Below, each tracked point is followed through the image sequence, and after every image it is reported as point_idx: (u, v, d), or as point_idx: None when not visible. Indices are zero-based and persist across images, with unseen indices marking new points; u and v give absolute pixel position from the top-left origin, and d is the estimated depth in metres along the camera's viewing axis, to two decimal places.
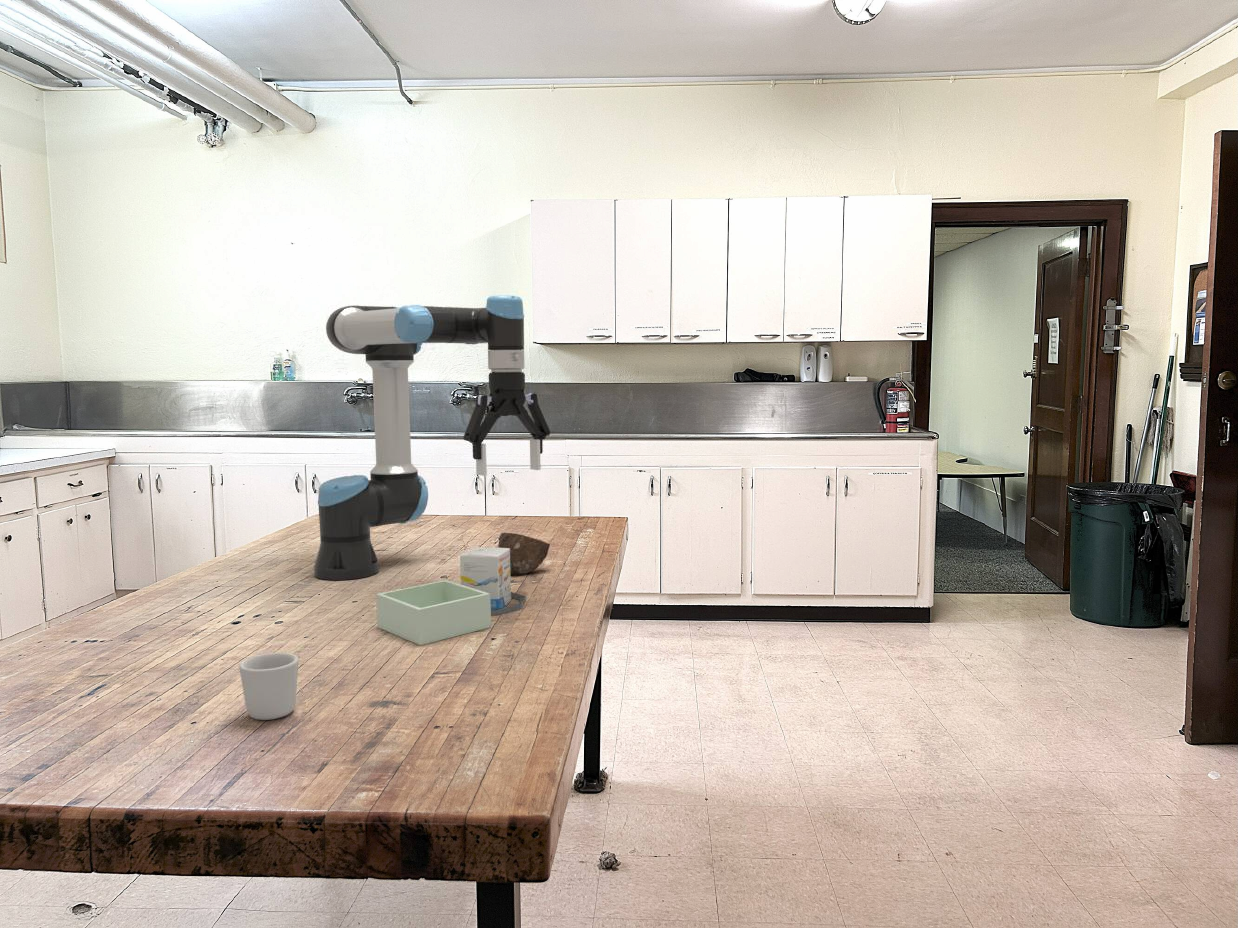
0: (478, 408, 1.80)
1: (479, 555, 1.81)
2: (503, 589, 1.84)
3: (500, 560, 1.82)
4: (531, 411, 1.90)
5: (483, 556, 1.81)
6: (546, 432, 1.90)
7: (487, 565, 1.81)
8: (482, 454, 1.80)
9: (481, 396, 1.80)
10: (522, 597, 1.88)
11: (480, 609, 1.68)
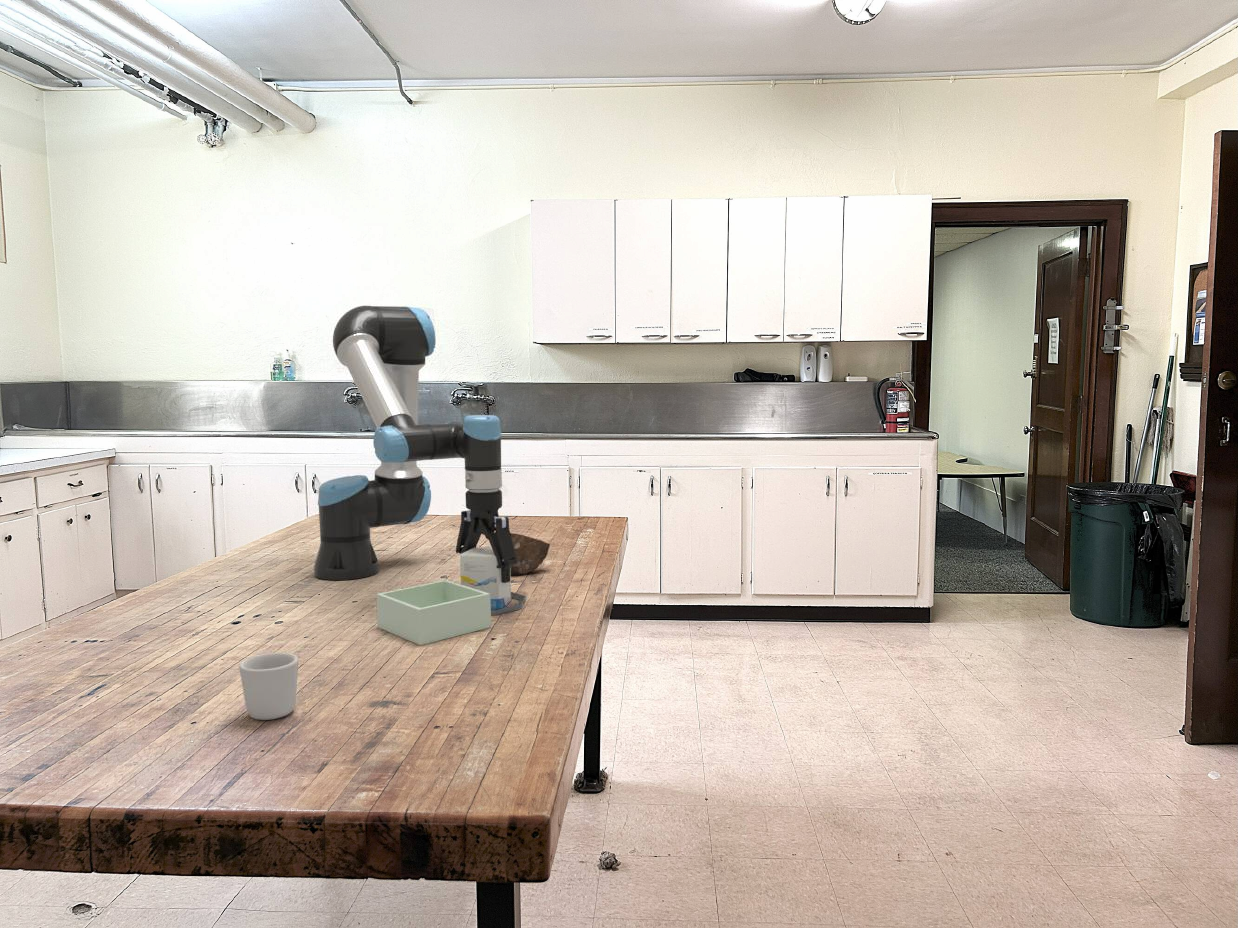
0: None
1: (479, 555, 1.81)
2: None
3: None
4: None
5: (483, 556, 1.81)
6: (504, 562, 1.78)
7: (487, 565, 1.81)
8: None
9: None
10: (522, 597, 1.88)
11: (480, 609, 1.68)
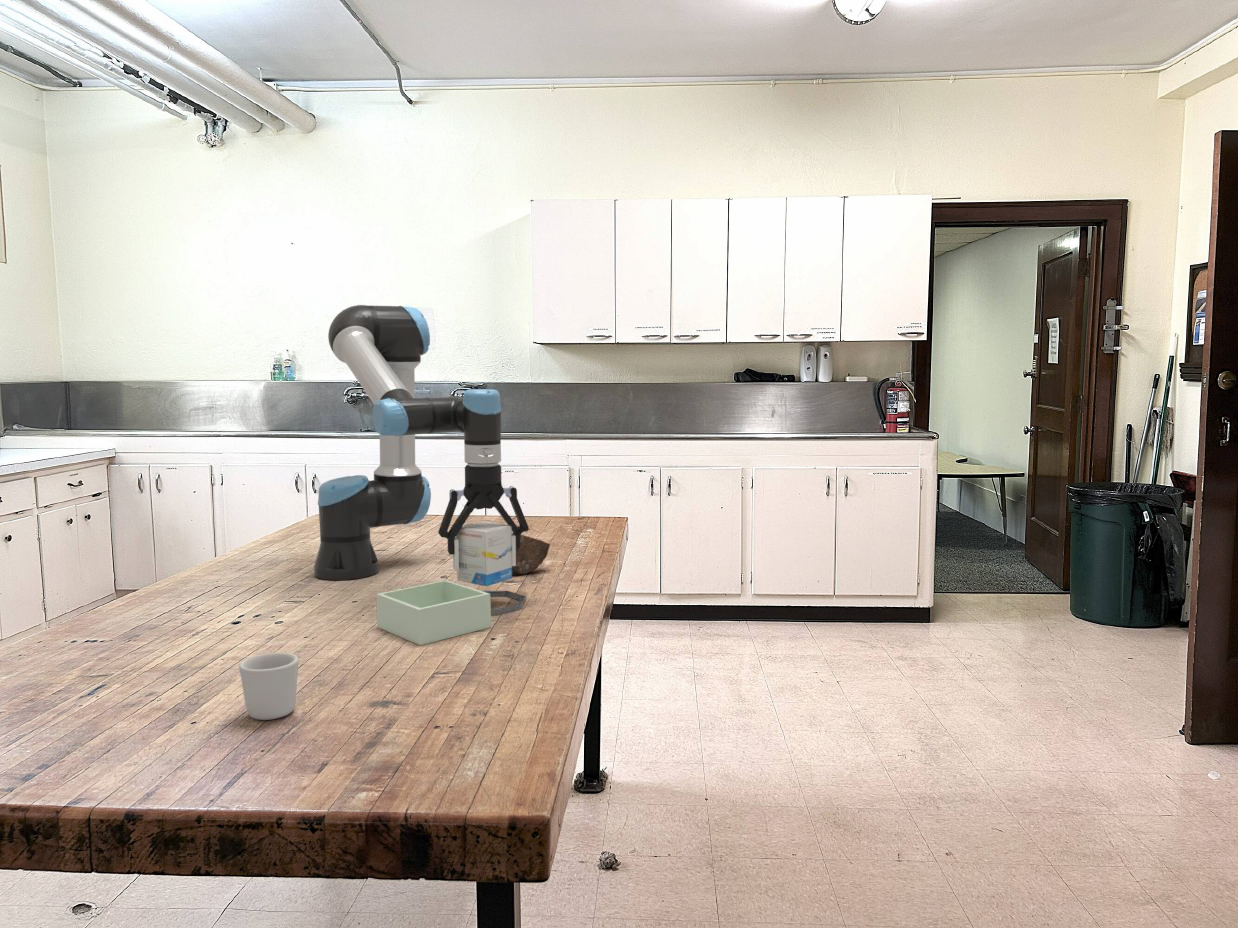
0: (449, 503, 1.81)
1: (498, 528, 1.83)
2: None
3: None
4: (512, 504, 1.87)
5: (501, 528, 1.83)
6: (524, 528, 1.87)
7: (505, 536, 1.84)
8: (455, 549, 1.82)
9: (451, 492, 1.81)
10: (522, 597, 1.88)
11: (480, 609, 1.68)
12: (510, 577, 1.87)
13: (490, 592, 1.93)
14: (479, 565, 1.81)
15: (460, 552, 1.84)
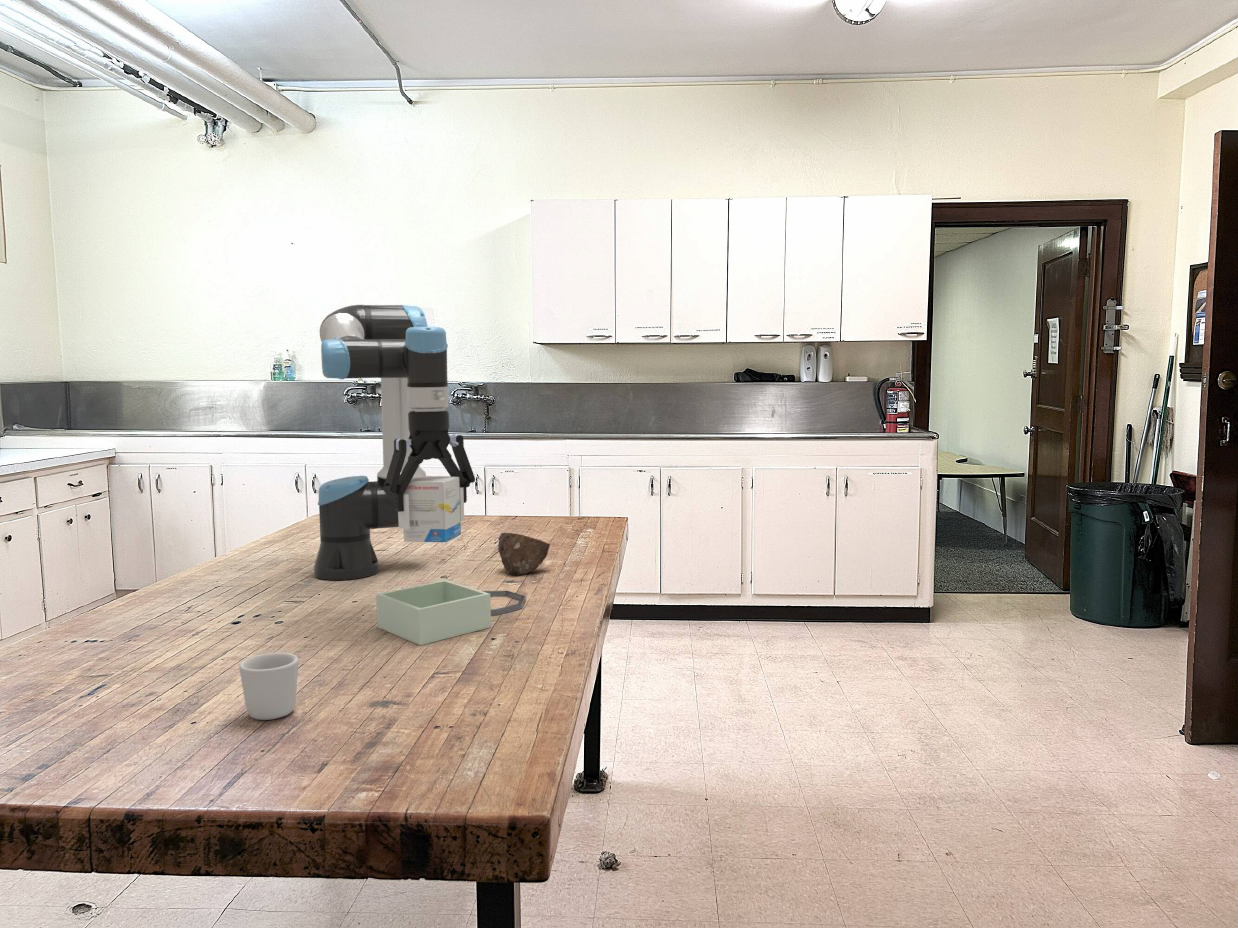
0: (397, 454, 1.62)
1: (450, 479, 1.67)
2: None
3: None
4: (455, 454, 1.72)
5: (453, 479, 1.68)
6: (470, 479, 1.73)
7: (456, 487, 1.69)
8: (404, 506, 1.63)
9: (399, 441, 1.62)
10: (522, 597, 1.88)
11: (480, 609, 1.68)
12: (459, 533, 1.71)
13: (490, 592, 1.93)
14: (435, 520, 1.64)
15: None
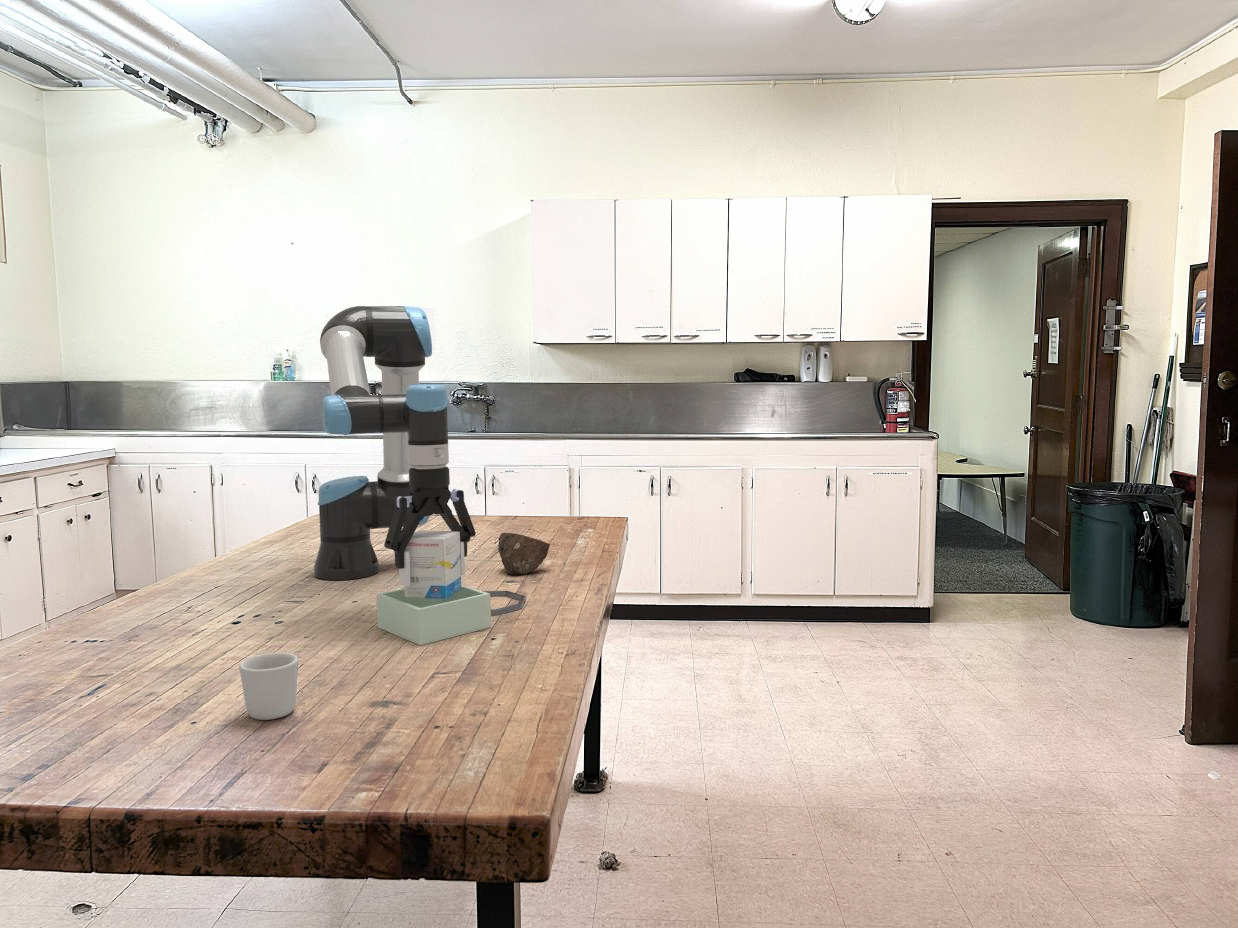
0: (397, 512, 1.63)
1: (450, 534, 1.68)
2: None
3: None
4: (456, 509, 1.73)
5: (453, 534, 1.69)
6: (471, 533, 1.74)
7: (456, 543, 1.70)
8: (405, 563, 1.64)
9: (400, 498, 1.63)
10: (522, 597, 1.88)
11: (480, 609, 1.68)
12: (460, 587, 1.72)
13: (490, 592, 1.93)
14: (435, 577, 1.65)
15: None
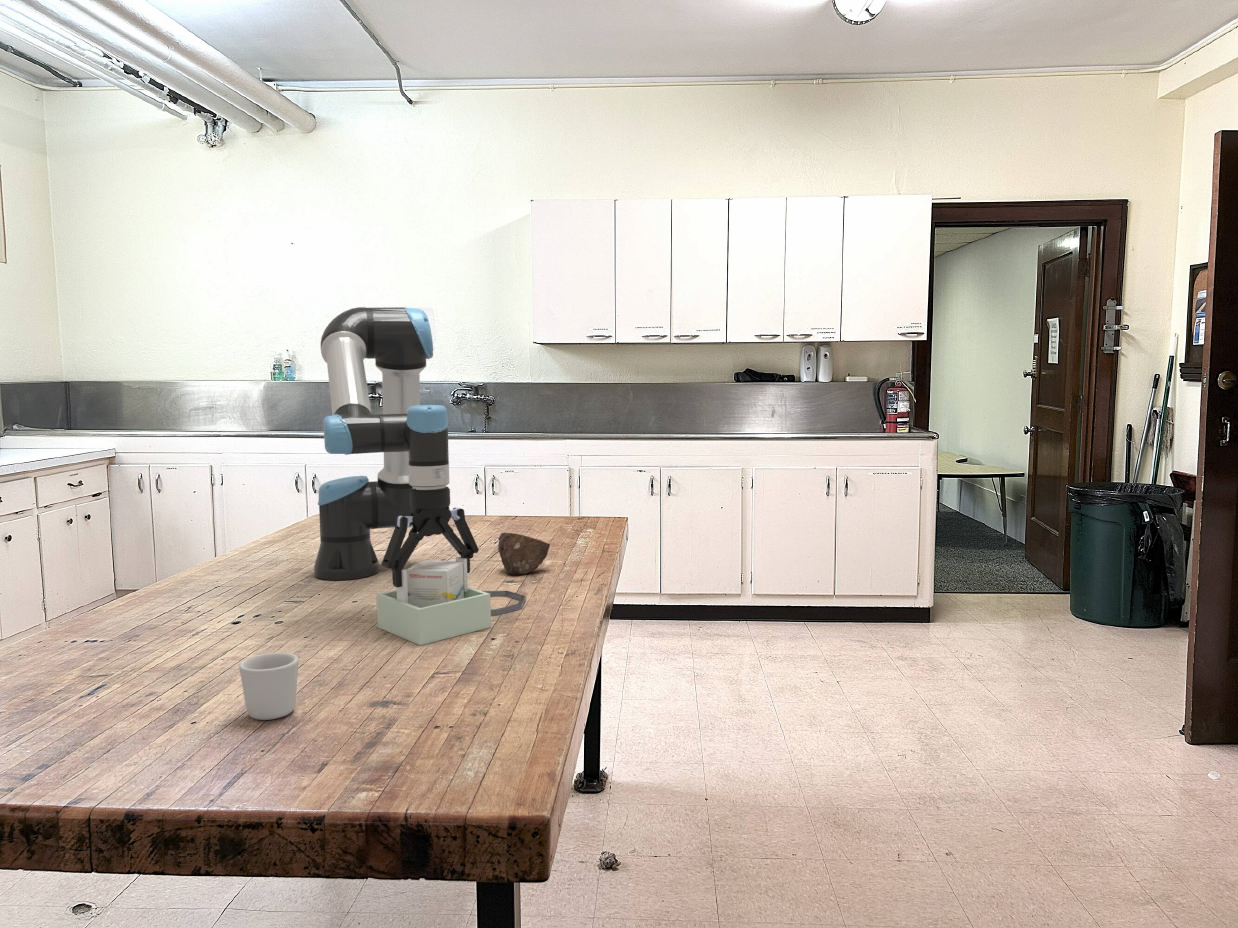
0: (397, 531, 1.63)
1: (454, 566, 1.69)
2: None
3: None
4: (458, 527, 1.74)
5: (456, 565, 1.70)
6: (474, 549, 1.74)
7: (459, 573, 1.71)
8: (403, 581, 1.64)
9: (400, 518, 1.63)
10: (522, 597, 1.88)
11: (480, 609, 1.68)
12: None
13: (490, 592, 1.93)
14: None
15: (412, 596, 1.67)
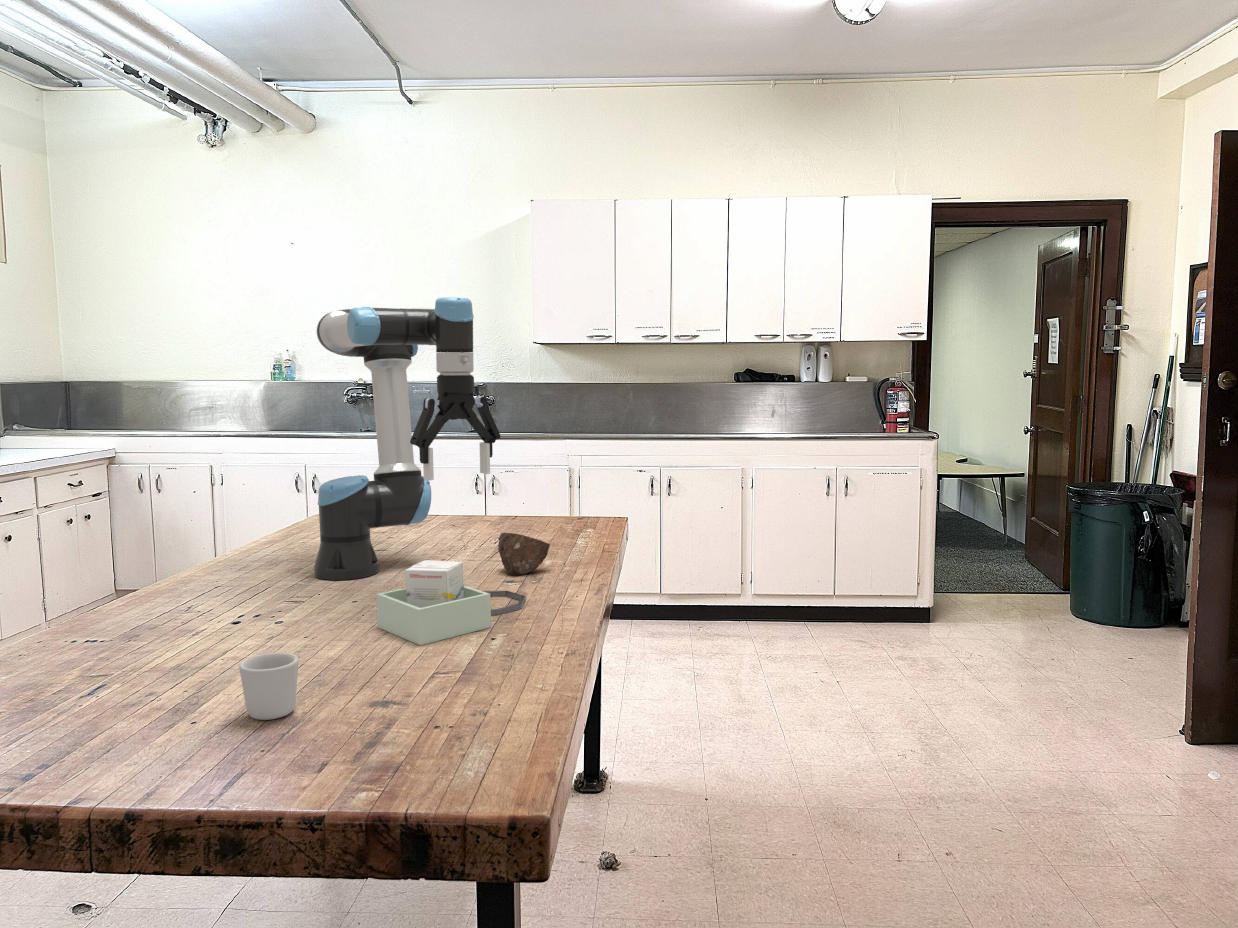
0: (425, 412, 1.77)
1: (454, 566, 1.69)
2: None
3: None
4: (481, 414, 1.87)
5: (456, 565, 1.70)
6: (496, 435, 1.88)
7: (459, 573, 1.71)
8: (429, 458, 1.78)
9: (428, 400, 1.77)
10: (522, 597, 1.88)
11: (480, 609, 1.68)
12: None
13: (490, 592, 1.93)
14: None
15: (412, 596, 1.67)
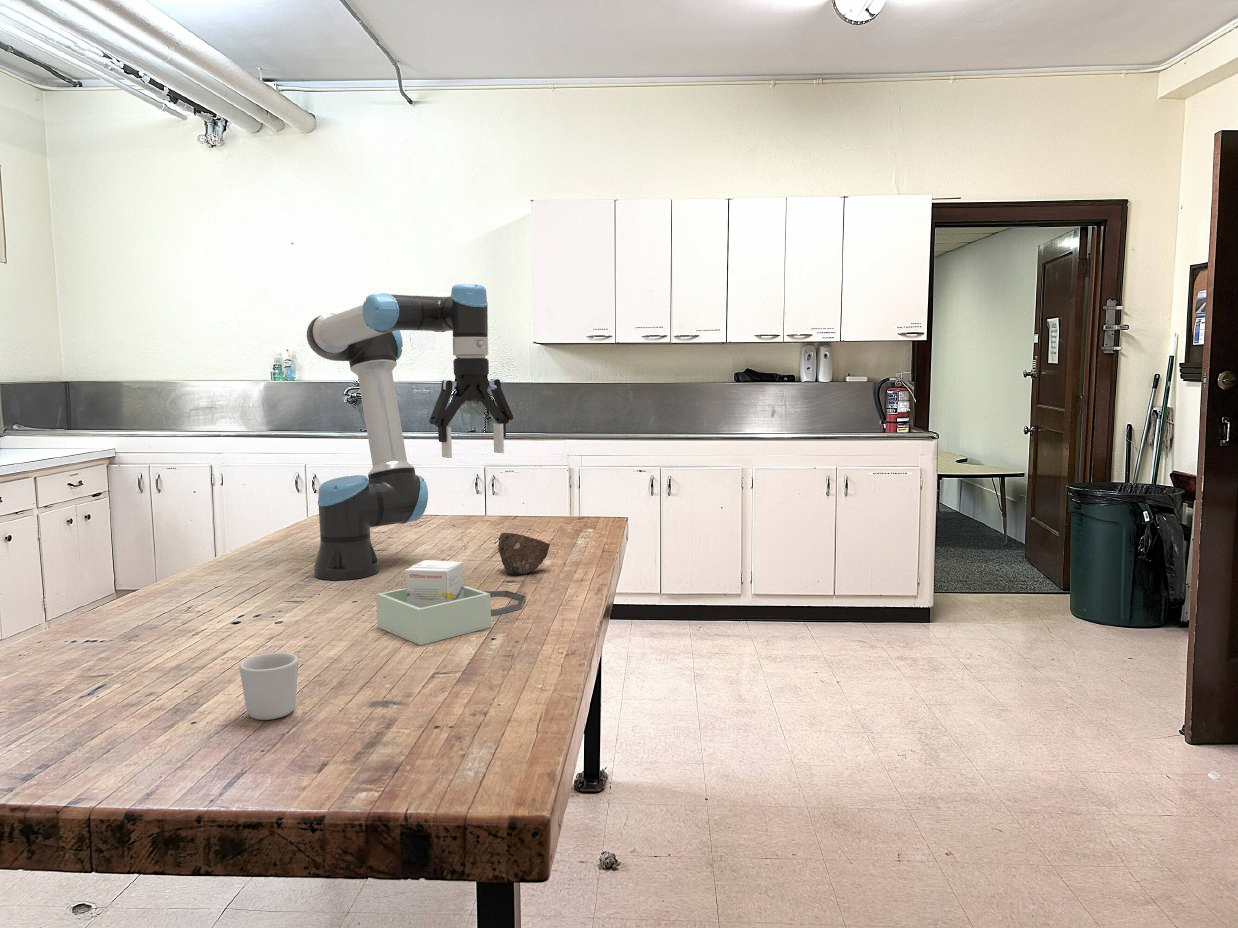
0: (443, 393, 1.86)
1: (453, 566, 1.69)
2: None
3: None
4: (494, 396, 1.97)
5: (456, 565, 1.70)
6: (509, 417, 1.98)
7: (459, 573, 1.71)
8: (447, 437, 1.87)
9: (446, 381, 1.86)
10: (522, 597, 1.88)
11: (480, 609, 1.68)
12: None
13: (490, 592, 1.93)
14: None
15: (412, 596, 1.67)
